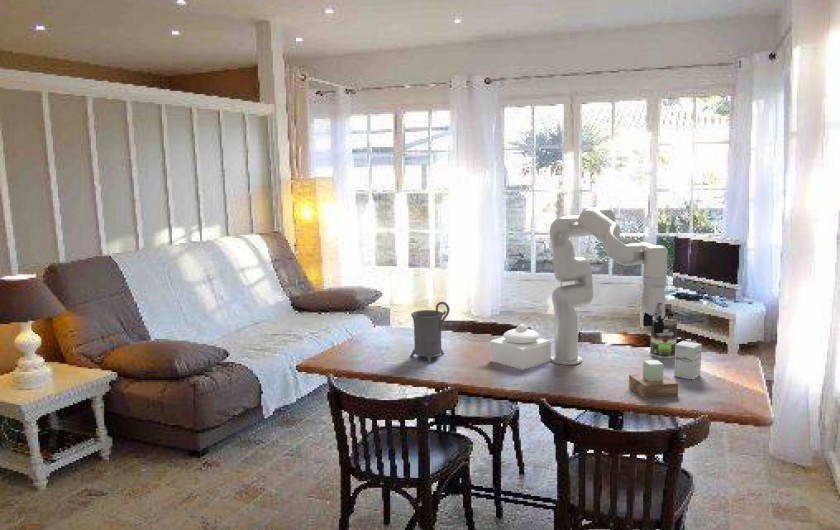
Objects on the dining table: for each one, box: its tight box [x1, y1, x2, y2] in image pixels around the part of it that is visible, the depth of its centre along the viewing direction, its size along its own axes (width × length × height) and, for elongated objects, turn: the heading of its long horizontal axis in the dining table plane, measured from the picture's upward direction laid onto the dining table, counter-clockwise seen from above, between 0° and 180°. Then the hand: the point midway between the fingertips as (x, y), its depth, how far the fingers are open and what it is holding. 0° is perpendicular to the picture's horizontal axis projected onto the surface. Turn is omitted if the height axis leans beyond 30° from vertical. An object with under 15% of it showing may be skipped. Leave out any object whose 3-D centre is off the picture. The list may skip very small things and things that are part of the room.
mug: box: [410, 301, 450, 364], centre depth 270 cm, size 19×15×25 cm
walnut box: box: [628, 373, 679, 399], centre depth 224 cm, size 12×12×5 cm
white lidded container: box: [489, 323, 552, 371], centre depth 264 cm, size 18×18×16 cm
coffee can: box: [649, 319, 678, 359], centre depth 267 cm, size 10×10×14 cm
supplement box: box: [673, 340, 703, 381], centre depth 239 cm, size 7×7×13 cm
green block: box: [642, 359, 664, 381], centre depth 224 cm, size 5×5×6 cm
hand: (653, 329), depth 222 cm, fingers open, 9 cm apart
